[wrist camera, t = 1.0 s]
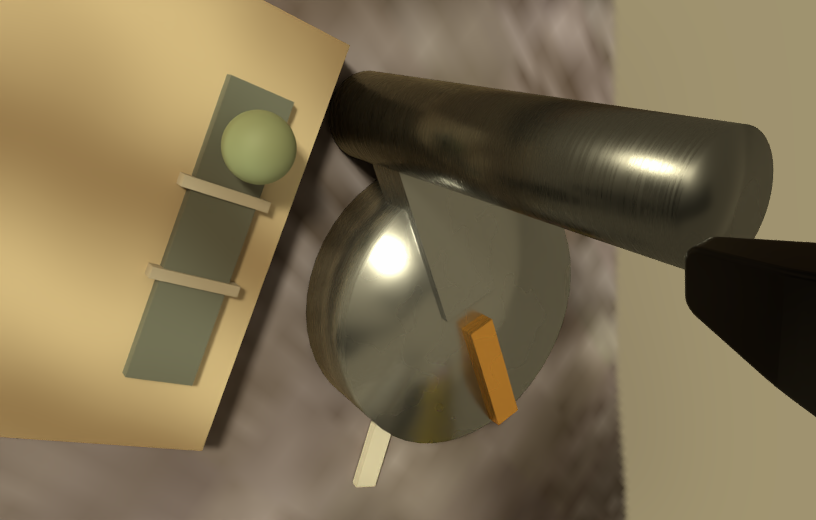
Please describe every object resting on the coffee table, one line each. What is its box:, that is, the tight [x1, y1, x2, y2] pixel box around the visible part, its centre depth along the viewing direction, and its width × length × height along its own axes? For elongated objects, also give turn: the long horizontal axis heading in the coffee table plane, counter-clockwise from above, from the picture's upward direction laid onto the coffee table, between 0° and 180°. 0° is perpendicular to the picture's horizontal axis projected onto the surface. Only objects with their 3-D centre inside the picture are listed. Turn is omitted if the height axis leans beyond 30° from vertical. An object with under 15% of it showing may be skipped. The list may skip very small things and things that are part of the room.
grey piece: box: [306, 71, 773, 443], centre depth 19 cm, size 12×9×12 cm
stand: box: [0, 0, 350, 451], centre depth 16 cm, size 12×9×3 cm
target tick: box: [353, 421, 391, 487], centre depth 25 cm, size 2×1×1 cm, turn 160°
